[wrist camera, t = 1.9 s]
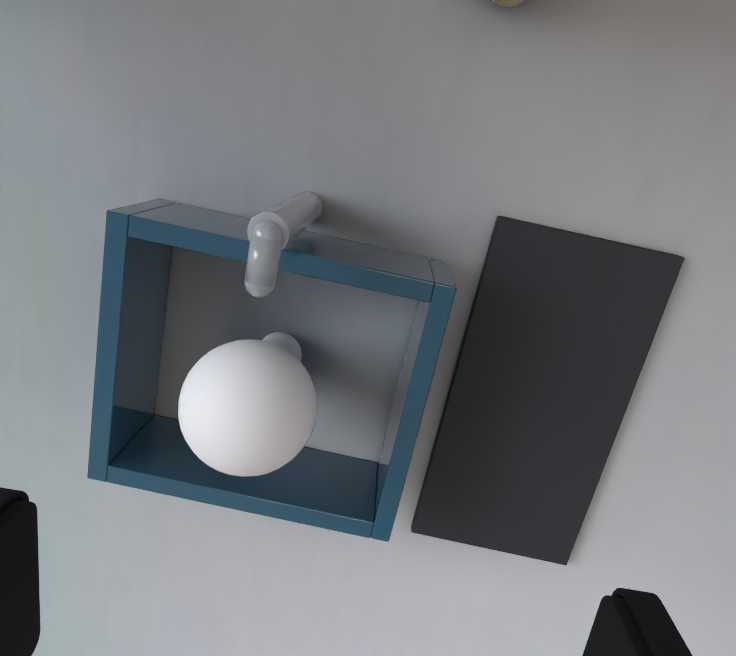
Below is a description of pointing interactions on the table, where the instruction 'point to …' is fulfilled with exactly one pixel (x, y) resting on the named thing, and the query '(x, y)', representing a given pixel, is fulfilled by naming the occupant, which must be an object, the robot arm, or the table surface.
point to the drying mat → (541, 387)
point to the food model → (507, 2)
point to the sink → (264, 258)
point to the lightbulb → (248, 405)
